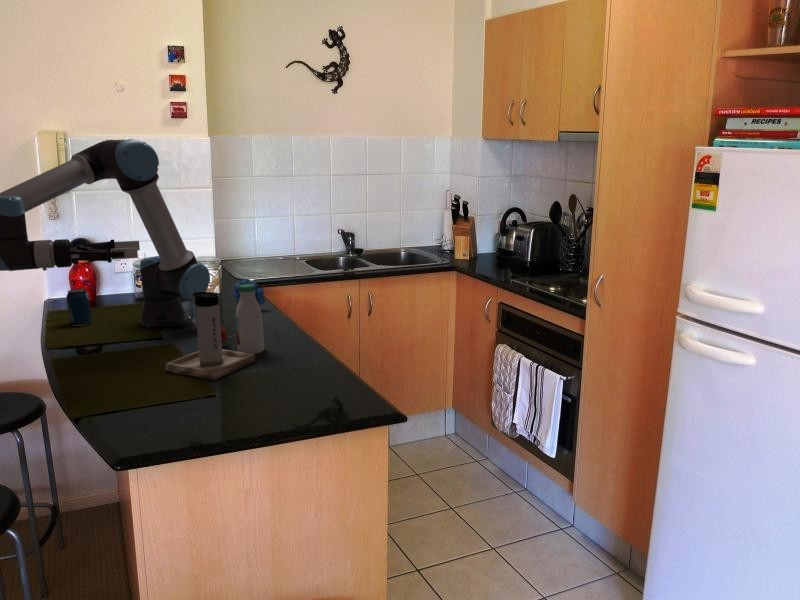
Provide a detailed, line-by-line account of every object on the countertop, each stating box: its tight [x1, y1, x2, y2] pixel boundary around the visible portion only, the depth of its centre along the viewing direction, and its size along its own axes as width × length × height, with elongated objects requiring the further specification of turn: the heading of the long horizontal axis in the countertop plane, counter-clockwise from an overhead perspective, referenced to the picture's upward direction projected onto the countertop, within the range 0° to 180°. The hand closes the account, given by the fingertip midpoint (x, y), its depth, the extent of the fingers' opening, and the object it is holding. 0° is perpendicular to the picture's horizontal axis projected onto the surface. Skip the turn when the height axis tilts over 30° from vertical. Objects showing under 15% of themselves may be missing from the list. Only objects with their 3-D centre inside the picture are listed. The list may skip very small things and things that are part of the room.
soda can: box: [66, 288, 93, 326], centre depth 243 cm, size 7×7×12 cm
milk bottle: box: [235, 284, 265, 355], centre depth 209 cm, size 8×8×20 cm
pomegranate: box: [220, 324, 230, 347], centre depth 215 cm, size 7×7×10 cm
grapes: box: [231, 278, 266, 309], centre depth 257 cm, size 12×7×12 cm, turn 94°
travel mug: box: [193, 291, 223, 366], centre depth 196 cm, size 6×7×20 cm
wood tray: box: [164, 348, 256, 381], centre depth 198 cm, size 17×17×2 cm
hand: (138, 249), depth 198 cm, fingers open, 13 cm apart
